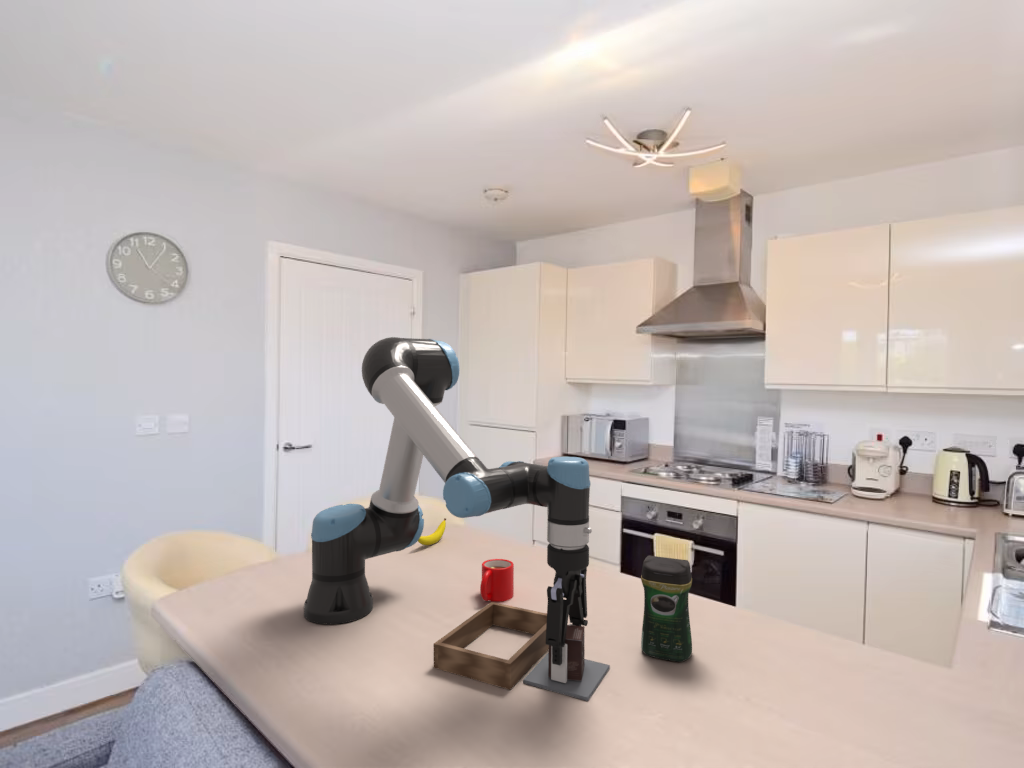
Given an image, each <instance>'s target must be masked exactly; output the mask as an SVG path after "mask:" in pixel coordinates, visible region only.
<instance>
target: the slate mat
mask: <svg viewBox="0 0 1024 768" xmlns="http://www.w3.org/2000/svg"><path fill="white" fill-rule="evenodd" d="M548 653H549V651H548V652H546V654H545V655H544V657H543V658H542V659H541V660H540V661H539V662H538V663H537V664H536V665H535V666H534V667H533V668H532V670H531V671H529V673H528V674H527V675H526V676H525V677H523V680H522V683H523V684H525V685H528V686H532V687H536V688H538V689H543V690H547V691H549V692H550V691H551V692H555V693H558V694H561V695H563V696H569V697H571V698H575V699H579V700H583V701H586V702H589V700H590V699H591V698H592V696H593V694H594V692H595V691H596V689H597V688H598V687H599V685H600V684H601V682H602V680H603V679H604V677H605V676H606V675H607V673H608V671H609V670H610V667H611V666H610V664H608V663H603V662H599V661H596V660H590V659H586V658H584V664H585V665H584V672H583V677H582V680H581V681H575V680H568V679H567V682H566V683H563V682H559V681H555V680H552V679H551V678H550V677H548Z"/></svg>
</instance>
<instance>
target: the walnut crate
mask: <svg viewBox="0 0 1024 768" xmlns="http://www.w3.org/2000/svg"><path fill="white" fill-rule="evenodd" d="M546 624H547V612H541V611H536V610H531V609H527V608H523V607H519V606H518V607H517V606H514V605H509V604H503V603H500V602H493V601H490V602H489V603H488V604H486V605H485V606H484V607H482V608H481V609H480V610H478V611H477V612H476V613H474V614H473V615H471V616H470V617H468V618H467V619H466V620H464V621H463V622H461V623H460V624H459V625H458V626H455V628H453V629H452V630H450V631H449V632H448V633H447V634H445V635H444V636H442V637H441V638H439V639H438V640H437V641H435V642H434V643H433V669H437V670H440V671H444V672H446V673H451V674H454V675H457V676H461V677H464V678H467V679H472V680H474V681H477V682H481V683H484V684H489V685H492V686H496V687H499V688H502V689H506V690H510V691H511V690H512V689H513V688H514V687H515V686H516V685H517V683H518V682H520V680H521V679H522V678H524V676H525V675H526V674H527V672H529V671H530V669H531V668H532V667H533V666H534V665H535V664H536V663H537V662H538V661H539V660H540V659H541V658H542V657H543V656H544V654H545V653H547V651H549V645H546ZM493 626H497V627H501V628H505V629H509V630H515V631H518V632H523V633H526V634H530V635H532V636H531V637H530V638H529V639H528V640H527V641H526V642H525V643H524V644H523V645H522V646H521V647H520V648H518V649H517V651H515V653H514V654H513V655H511V656H510V658H509V659H505V658H501V657H497V656H494V655H490V654H486V653H482V652H479V651H475V650H471V649H467V648H466V647H467V646H469V645H470V644H471V643H473V642H474V641H476V639H478V638H479V637H480V636H481V635H483V634H484V633H485V632H486V631H488V630H489V629H490V628H491V627H493Z"/></svg>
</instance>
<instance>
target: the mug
mask: <svg viewBox="0 0 1024 768" xmlns="http://www.w3.org/2000/svg"><path fill="white" fill-rule="evenodd" d="M514 570H515V566H514V562H513V561H512V560H509V559H505V558H504V559H503V558H492V559H487V560H484V561H483V562H482V563H481V581H480V591H479V592H480V596H481V598H482V600H483V601H485V602H495V603H500V602H507V601H510V600H512V599H513V598H514V594H515V593H514V587H515V586H514V584H515V581H514V578H515V576H514V574H515V571H514Z"/></svg>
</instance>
